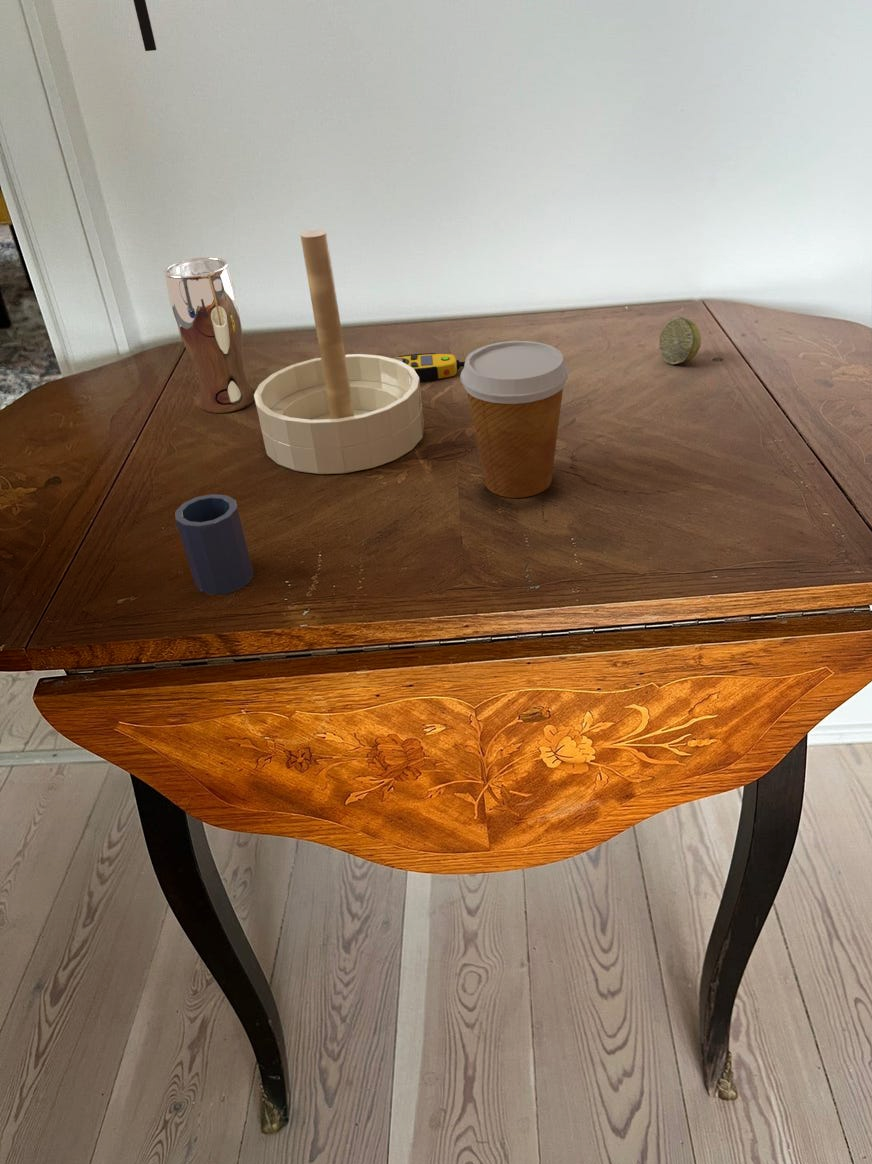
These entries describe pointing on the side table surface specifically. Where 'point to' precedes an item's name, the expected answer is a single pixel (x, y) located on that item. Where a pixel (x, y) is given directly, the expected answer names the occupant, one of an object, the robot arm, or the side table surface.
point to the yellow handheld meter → (432, 365)
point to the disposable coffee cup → (516, 413)
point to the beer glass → (210, 330)
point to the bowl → (347, 444)
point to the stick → (327, 322)
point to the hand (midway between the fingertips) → (49, 59)
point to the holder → (214, 543)
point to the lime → (679, 341)
